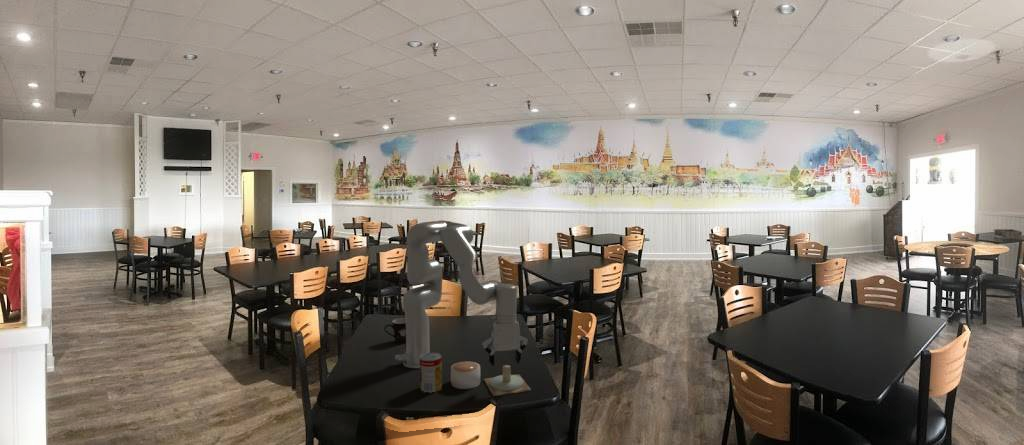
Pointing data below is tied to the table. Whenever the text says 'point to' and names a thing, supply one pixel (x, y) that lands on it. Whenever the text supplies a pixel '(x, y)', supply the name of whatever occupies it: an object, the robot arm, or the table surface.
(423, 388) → the canned food
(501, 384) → the lid
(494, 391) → the mat
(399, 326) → the coffee mug
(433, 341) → the table surface
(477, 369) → the bowl
